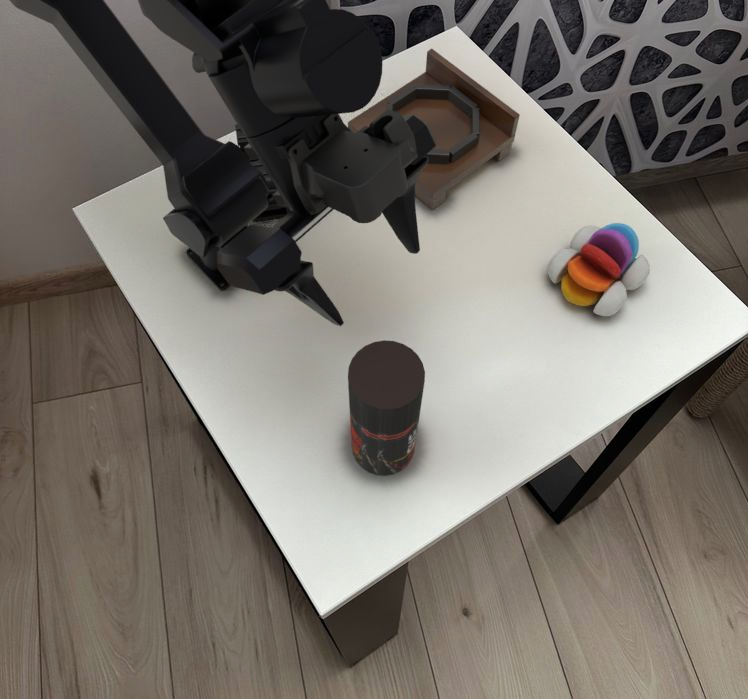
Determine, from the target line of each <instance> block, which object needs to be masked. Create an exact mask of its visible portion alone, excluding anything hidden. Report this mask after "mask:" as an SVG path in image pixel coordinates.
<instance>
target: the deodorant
mask: <svg viewBox="0 0 748 699" xmlns="http://www.w3.org/2000/svg"><path fill="white" fill-rule="evenodd" d="M347 369H348V370H347V386H348V389H347V390H348V406H349V423H350V424H349V425H350V426H349V427H350V443H351V444H350V445H351V451H352V452H351V453H352V455H353V458H354V459H355V461H356V463H357V464H358V465H359V466H360V467H361V469H363V470H364V471H366V472H368V473H370V474H373V475H375V476H383V477H384V476H391V475H395V474H397V473H399V472H401V471H403V470H404V469H405V468H406V467H407V466H408V465H409V463H410V462H411V461H412V460H413V457H414V454H415V448H416V442H417V436H418V430H419V422H420V415H421V408H422V402H423V395H424V389H425V381H426V371H425V367H424V363H423V361H422V359H421V358H420V356H419V354H417V353H416V351H414V349H412V348H411V347H409V346H407V345H406V344H404V343H402V342H398V341H395V340H383V339H382V340H377V341H373V342H370V343H368V344H366V345H364V346H363V347H361V348H360V349H358V351H356V353H355V355H353V357H352V358H351V360H350V363H349V365H348V368H347Z"/></svg>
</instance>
